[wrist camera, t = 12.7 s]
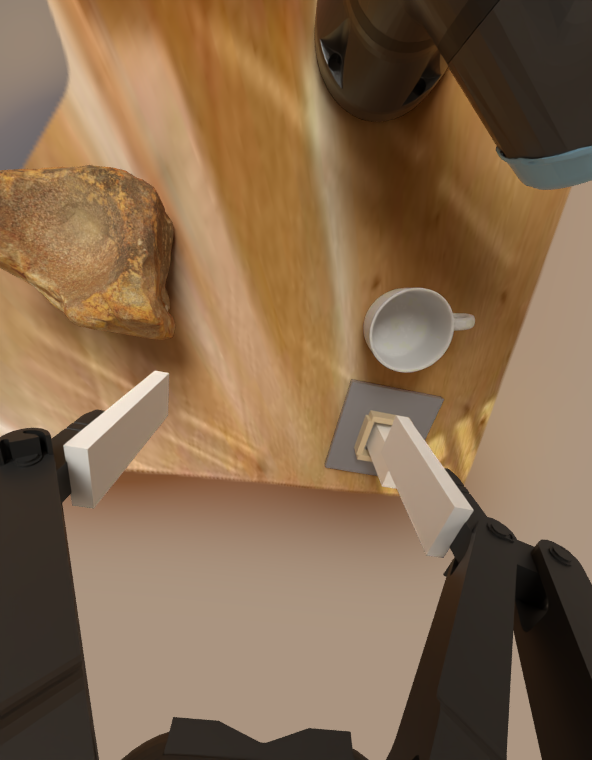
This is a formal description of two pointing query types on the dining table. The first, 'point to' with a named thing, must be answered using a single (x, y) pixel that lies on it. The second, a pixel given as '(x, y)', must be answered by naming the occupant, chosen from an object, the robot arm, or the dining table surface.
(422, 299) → the teacup
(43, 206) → the rough brown rock
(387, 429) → the plug
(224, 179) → the dining table surface
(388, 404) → the socket plate
